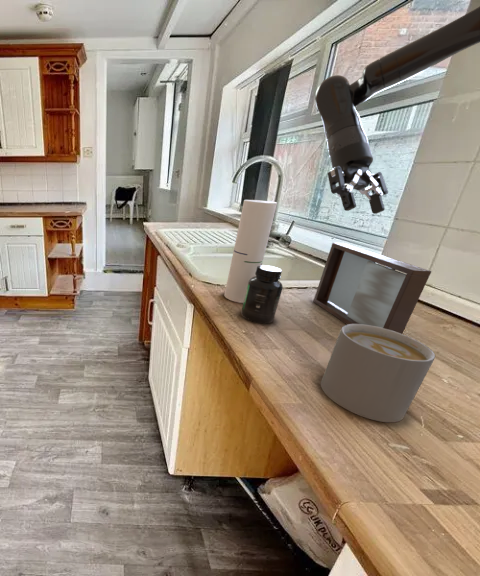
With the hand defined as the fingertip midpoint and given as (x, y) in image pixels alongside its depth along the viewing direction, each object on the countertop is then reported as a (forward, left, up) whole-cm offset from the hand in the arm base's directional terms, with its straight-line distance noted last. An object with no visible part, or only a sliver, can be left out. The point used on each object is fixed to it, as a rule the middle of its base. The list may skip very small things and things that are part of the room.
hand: (365, 210), depth 72 cm
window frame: (+7, +7, -24) cm, 26 cm away
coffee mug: (+34, +21, -24) cm, 47 cm away
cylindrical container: (+20, -13, -24) cm, 34 cm away
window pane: (+1, +6, -23) cm, 23 cm away
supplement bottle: (+26, -3, -24) cm, 36 cm away
